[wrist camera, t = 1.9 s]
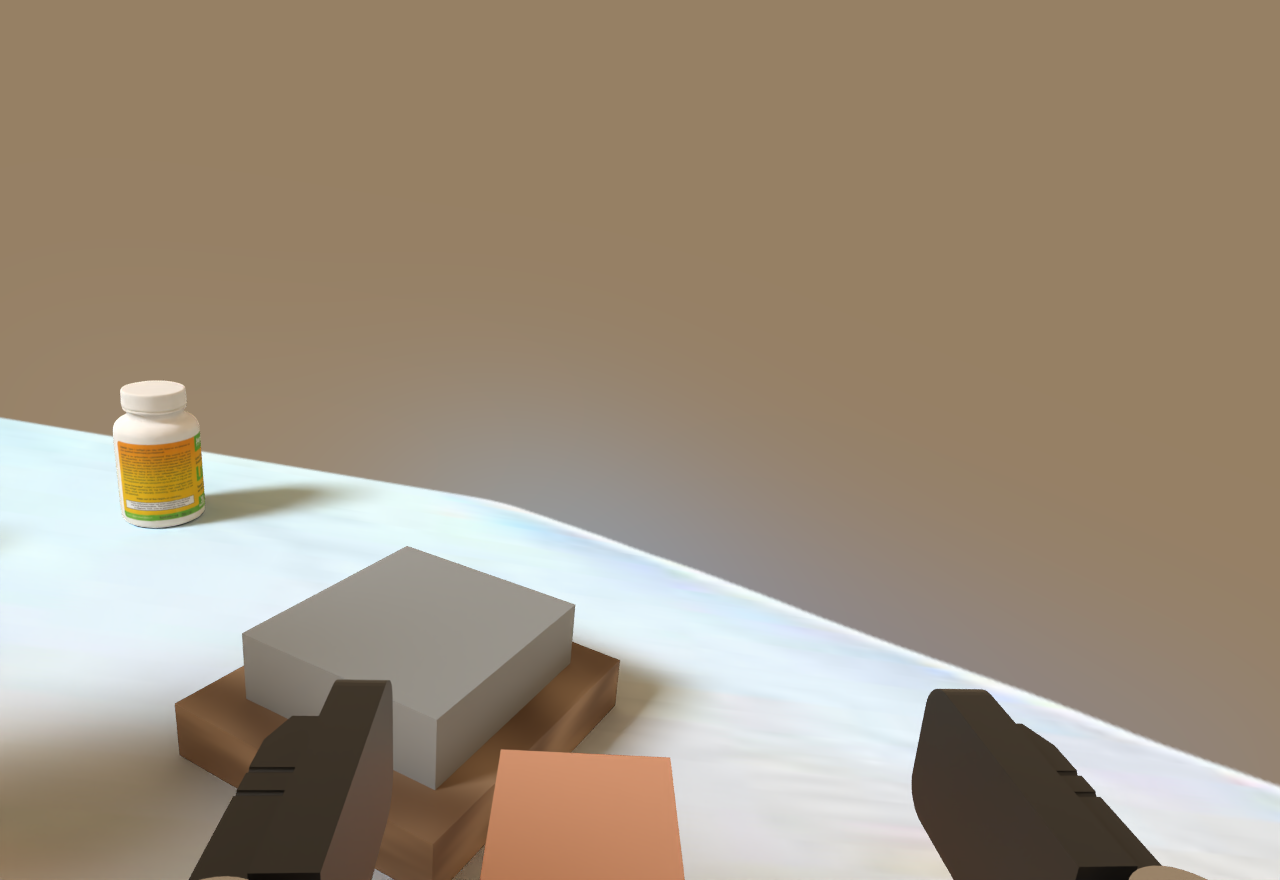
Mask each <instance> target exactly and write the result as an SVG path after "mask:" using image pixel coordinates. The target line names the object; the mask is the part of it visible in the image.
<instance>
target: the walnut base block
mask: <svg viewBox="0 0 1280 880" xmlns="http://www.w3.org/2000/svg"><path fill="white" fill-rule="evenodd" d="M619 663H620V660H618V659H615V658H613V657H610V656H607V655H605V654H602V653H600V652H597V651H594V650H592V649H589V648H587V647H584V646H581V645H579V644H576V643H574V642H572V649H571V661H570V664H569V665H568V666H567V667H566V668H564V669H563V670H562V671H561V672H560V673H559V674H558V675H557V676H556V677H555V678H554V679H553V680H552V681H551V682H550V683H549V684H548V685H546V686H545V687H544V688H543V689H542V690H541V691H540V692H539V693H538V694H537V695H536V696H535V697H534V698H533V699H532V700H531V701H529V702H528V703H527V704H526V705H525V706H524V707H523V708H522V709H521V710H520V711H519V712H518V713H517V714H516V715H515V716H514V717H512V718H511V719H510V720H509V721H508V722H507V723H506V724H505V725H504V726H503V727H502V728H501V729H500V730H499V731H498V732H497V733H495V734H494V735H493V736H492V737H491V738H490V739H489V740H488V741H487V742H486V743H485V744H484V745H483V746H482V747H481V748H480V749H479V750H477V751H476V752H475V753H474V754H473V755H472V756H471V757H470V758H469V759H468V760H467V761H466V762H465V763H464V764H463V765H462V766H460V767H459V768H458V769H457V770H456V771H455V772H454V773H453V774H452V775H451V776H450V777H449V778H448V779H447V780H446V781H445V782H443V783H442V784H441V785H440V786H439V787H438V788H437V789H436V790H434V789H432V788H429V787H427V786H425V785H423V784H421V783H419V782H417V781H415V780H413V779H411V778H409V777H407V776H405V775H403V774H401V773H399V772H396V771H394V770H393V786H392V796H391V804H390V810H389V815H388V820H387V824H386V828H385V831H384V835H383V839H382V842H381V846H380V850H379V853H378V857H377V861H376V865H375V869H377V870H379V871H380V872H382V873H384V874H386V875H387V876H389V877H391V878H392V879H394V880H452V879H453V878H454V877H455V876H456V875H457V874H458V872H459V871H460V870H461V869H462V868H463V867H464V866H465V865H466V864H467V863H468V862H469V861H470V860H471V859H472V858H473V856H474V855H475V854H476V853H477V852H478V851H479V850H480V849H481V848H482V847H483V846H484V845H485V844H486V838H487V832H488V826H489V820H490V814H491V808H492V801H493V795H494V789H495V783H496V777H497V770H498V764H499V758H500V752H501V749H503V750H523V751H544V752H564V753H571V752H572V751H573V750H574V749H575V747H576V746H577V745H578V744H579V743H580V742H581V741H582V740H583V739H584V738H585V737H586V736H587V735H588V734H589V733H590V731H591V730H592V729H593V728H594V727H595V726H596V725H597V724H598V723H599V722H600V721H601V720H602V719H603V718H604V717H605V715H606V714H607V713H608V712H609V711H610V710H611V709H612V708H613V707H614V706H615V701H616V692H617V682H618V673H619ZM175 712H176V722H177V733H178V743H179V754H180V756H182V757H184V758H186V759H187V760H189V761H191V762H193V763H194V764H196V765H198V766H199V767H201V768H203V769H205V770H206V771H208V772H210V773H211V774H213V775H215V776H217V777H218V778H220V779H222V780H224V781H225V782H227V783H229V784H230V785H232V786H234V787H236V788H237V789H238V787H239V785H240V783H241V781H242V779H243V777H244V776H245V774H246V773H248V771H249V766H250V764H251V762H252V761H253V759H254V757H255V755H256V753H257V751H258V749H259V747H260V746H261V744H262V742H263V740H264V739H265V738H266V737H267V736H268V735H270V734H271V733H272V732H273V731H274V730H276V729H277V728H278V727H279V726H281V725H282V724H283V723H284V722H285V721H287V720H288V719H287V718H285V717H283V716H281V715H279V714H277V713H275V712H273V711H271V710H269V709H267V708H264V707H262V706H260V705H258V704H256V703H254V702H252V701H250V700H248V699H246V687H245V671H244V666H242V667H240V668H239V669H237V670H235V671H233V672H231V673H230V674H228V675H226V676H224V677H222V678H221V679H219V680H217V681H215V682H213V683H211V684H210V685H208V686H206V687H204V688H202V689H201V690H199V691H197V692H195V693H193V694H192V695H190V696H188V697H186V698H184V699H182V700H181V701H179V702H177V703H175Z"/></svg>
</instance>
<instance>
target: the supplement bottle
mask: <svg viewBox="0 0 1280 880" xmlns="http://www.w3.org/2000/svg"><path fill="white" fill-rule="evenodd" d="M120 394H121V405H122V408H123V410H124V411H126V412H127V414H125V415H123V416H121V417H120V418H118V419H117V421H116V422H115V424H114V426H113V440H114V449H115V458H116V467H117V477H118V486H119V496H120V505H121V511H122V516H123V518H124V520H125V521H127V522H128V523H130V524H133V525H136V526H140V527H148V528H163V527H170V526H175V525H180V524H183V523H186V522H189V521H191V520H194V519H196V518H197V517H199V516H200V515H201V514H202V513H203V512H204V510H205V494H204V482H203V469H202V456H201V443H200V431H199V423H198V420H197V419H196V418H195V416H193V415H192V414H190V413H189V412H186V411H184V408H185V407H186V405H187V403H186V401H187V400H186V390H185V386H184V385H182V384H179V383H176V382H170V381H143V382H136V383H132V384H128V385H125V386H123V387H122V388H121V390H120Z"/></svg>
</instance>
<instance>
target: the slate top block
mask: <svg viewBox="0 0 1280 880" xmlns="http://www.w3.org/2000/svg"><path fill="white" fill-rule="evenodd" d="M574 613H575V605H574V604H572V603H569V602H566V601H563V600H560V599H557V598H554V597H552V596H549V595H546V594H543V593H540V592H537V591H534V590H532V589H529V588H526V587H523V586H520V585H517V584H514V583H511V582H509V581H506V580H503V579H500V578H497V577H494V576H491V575H489V574H486V573H483V572H480V571H477V570H474V569H471V568H469V567H466V566H463V565H460V564H457V563H454V562H451V561H449V560H446V559H443V558H440V557H437V556H434V555H431V554H428V553H426V552H423V551H420V550H417V549H414V548H411V547H408V546H406V547H404V548H402V549H401V550H399V551H397V552H395V553H393V554H391V555H389V556H387V557H385V558H384V559H382V560H380V561H378V562H376V563H374V564H372V565H370V566H368V567H367V568H365V569H363V570H361V571H359V572H357V573H355V574H353V575H351V576H350V577H348V578H346V579H344V580H342V581H340V582H338V583H336V584H334V585H333V586H331V587H329V588H327V589H325V590H323V591H321V592H319V593H318V594H316V595H314V596H312V597H310V598H308V599H306V600H304V601H302V602H301V603H299V604H297V605H295V606H293V607H291V608H289V609H287V610H285V611H284V612H282V613H280V614H278V615H276V616H274V617H272V618H270V619H268V620H267V621H265V622H263V623H261V624H259V625H257V626H255V627H253V628H251V629H250V630H248V631H246V632H244V633H242V639H243V655H244V671H245V687H246V699H248V700H250V701H252V702H254V703H256V704H258V705H260V706H262V707H264V708H267V709H269V710H271V711H273V712H275V713H277V714H279V715H281V716H283V717H285V718H287V719H289V718H290V717H291V716H319V714H320V712H321V710H322V708H323V705H324V703H325V701H326V699H327V697H328V694H329V692H330V690H331V688H332V686H333V684H334V682H335V681H336V680H337V679H352V680H390V681H391V684H392V693H393V770H394V771H396V772H399V773H401V774H403V775H405V776H407V777H409V778H411V779H413V780H415V781H417V782H419V783H421V784H423V785H425V786H427V787H429V788H432V789H434V790H436V789H437V788H438V787H439V786H440V785H441V784H442V783H443V782H445V781H446V780H447V779H448V778H449V777H450V776H451V775H452V774H453V773H454V772H455V771H456V770H457V769H458V768H459V767H460V766H462V765H463V764H464V763H465V762H466V761H467V760H468V759H469V758H470V757H471V756H472V755H473V754H474V753H475V752H476V751H477V750H479V749H480V748H481V747H482V746H483V745H484V744H485V743H486V742H487V741H488V740H489V739H490V738H491V737H492V736H493V735H494V734H495V733H497V732H498V731H499V730H500V729H501V728H502V727H503V726H504V725H505V724H506V723H507V722H508V721H509V720H510V719H511V718H512V717H514V716H515V715H516V714H517V713H518V712H519V711H520V710H521V709H522V708H523V707H524V706H525V705H526V704H527V703H528V702H529V701H531V700H532V699H533V698H534V697H535V696H536V695H537V694H538V693H539V692H540V691H541V690H542V689H543V688H544V687H545V686H546V685H548V684H549V683H550V682H551V681H552V680H553V679H554V678H555V677H556V676H557V675H558V674H559V673H560V672H561V671H562V670H563V669H564V668H566V667H567V666H568V665H569V664H570V661H571V649H572V637H573V625H574Z"/></svg>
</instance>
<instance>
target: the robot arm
mask: <svg viewBox="0 0 1280 880" xmlns="http://www.w3.org/2000/svg"><path fill="white" fill-rule="evenodd" d="M392 786H393V693H392V684H391V681H390V680H352V679H337V680H336V681H335V682H334V684H333V686H332V688H331V690H330V692H329V694H328V697H327V699H326V701H325V703H324V705H323V708H322V710H321V712H320V714H319V716H291V717H290V718H289V719H288V720H287V721H285V722H284V723H283V724H282V725H281V726H279V727H278V728H277V729H276V730H274V731H273V732H272V733H271V734H270V735H268V736H267V737H266V738H265V739H264V740H263V742H262V744H261V746H260V747H259V749H258V751H257V753H256V755H255V757H254V759H253V761H252V762H251V764H250V766H249V771H248V773H246V774H245V776H244V777H243V779H242V781H241V783H240V785H239V787H238V789H237V793H236V796H233V798H232V800H231V802H230V804H229V805H228V807H227V809H226V811H225V813H224V815H223V817H222V818H221V820H220V822H219V824H218V826H217V828H216V830H215V832H214V833H213V835H212V837H211V839H210V841H209V843H208V845H207V847H206V848H205V850H204V852H203V854H202V856H201V858H200V860H199V861H198V863H197V865H196V867H195V869H194V871H193V873H192V875H191V876H190V878H189V880H371V879H372V876H373V872H374V868H375V865H376V861H377V857H378V853H379V850H380V846H381V842H382V839H383V835H384V831H385V828H386V824H387V820H388V815H389V810H390V804H391V796H392ZM912 796H913V802H914V806H915V810H916V813H917V815H918V818H919V820H920V822H921V824H922V825H923V827H924V829H925V831H926V832H927V834H928V836H929V838H930V839H931V841H932V843H933V845H934V846H935V848H936V850H937V852H938V853H939V855H940V857H941V858H942V860H943V862H944V864H945V865H946V867H947V869H948V871H949V872H950V874H951V876H952V878H953V879H954V880H1207V879H1205V878H1202V877H1200V876H1198V875H1196V874H1193V873H1190V872H1187V871H1184V870H1181V869H1177V868H1173V867H1166V866H1162V865H1161V864H1160V863H1159V862H1158V861H1157V860H1156V859H1155V858H1154V856H1153V855H1152V854H1151V853H1150V852H1149V851H1148V850H1147V849H1146V847H1145V846H1144V845H1143V844H1142V843H1141V842H1140V841H1139V840H1138V838H1137V837H1136V836H1135V835H1134V834H1133V833H1132V832H1131V831H1130V830H1129V828H1128V827H1127V826H1126V825H1125V824H1124V823H1123V822H1122V821H1121V819H1120V818H1119V817H1118V816H1117V815H1116V814H1115V813H1114V812H1113V811H1112V809H1111V808H1110V807H1109V806H1108V805H1107V804H1106V803H1105V802H1104V800H1103V799H1102V798H1101V797H1096V794H1095V790H1094V789H1093V788H1092V787H1091V786H1090V785H1089V784H1088V783H1087V781H1086V780H1085V779H1084V778H1083V777H1082V776H1078V775H1077V770H1076V769H1075V768H1074V767H1073V766H1072V765H1071V764H1070V762H1069V761H1068V760H1067V759H1066V758H1065V757H1064V756H1063V755H1062V753H1061V752H1060V751H1059V750H1058V749H1057V748H1056V747H1055V746H1054V745H1053V744H1051V743H1050V742H1048V741H1047V740H1045V739H1044V738H1042V737H1041V736H1039V735H1038V734H1037V733H1035V732H1034V731H1032V730H1031V729H1029V728H1028V727H1026V726H1025V725H1023V724H1016V723H1015V722H1014V721H1013V720H1012V719H1011V718H1010V716H1009V715H1008V714H1007V713H1006V712H1005V711H1004V709H1003V708H1002V707H1001V706H1000V705H999V704H998V702H997V701H996V700H995V699H994V698H993V697H992V695H991V694H990V693H988V692H987V691H985V690H982V689H935V690H933V691H932V692H931V693H930V695H929V696H928V699H927V702H926V707H925V712H924V717H923V722H922V727H921V732H920V737H919V742H918V748H917V753H916V758H915V763H914V768H913V773H912Z"/></svg>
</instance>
